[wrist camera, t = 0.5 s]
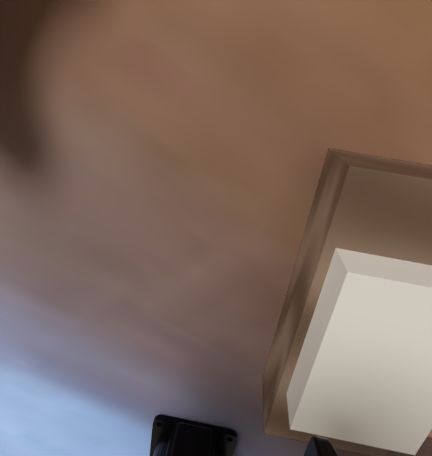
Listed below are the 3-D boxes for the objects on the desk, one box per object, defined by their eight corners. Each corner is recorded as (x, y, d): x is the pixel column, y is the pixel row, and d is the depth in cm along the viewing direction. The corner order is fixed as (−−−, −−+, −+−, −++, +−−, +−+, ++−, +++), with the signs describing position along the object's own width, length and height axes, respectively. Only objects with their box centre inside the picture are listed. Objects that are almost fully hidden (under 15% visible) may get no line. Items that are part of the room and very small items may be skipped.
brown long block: (363, 398, 22) (383, 458, 19) (262, 377, 23) (263, 433, 19) (471, 172, 16) (536, 197, 12) (328, 148, 16) (349, 165, 12)
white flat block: (398, 416, 17) (414, 455, 15) (286, 393, 18) (289, 429, 16) (478, 274, 14) (513, 302, 12) (335, 247, 14) (347, 272, 12)
